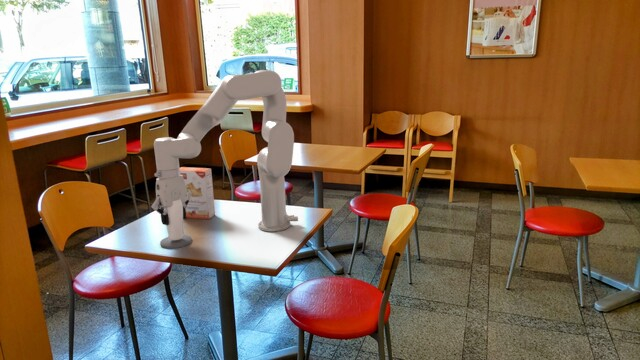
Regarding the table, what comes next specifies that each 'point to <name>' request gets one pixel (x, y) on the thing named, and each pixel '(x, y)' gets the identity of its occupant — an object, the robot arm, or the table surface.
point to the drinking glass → (175, 221)
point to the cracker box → (199, 192)
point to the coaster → (175, 242)
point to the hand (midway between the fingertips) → (174, 221)
